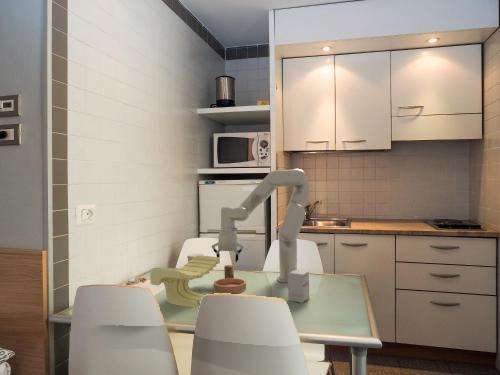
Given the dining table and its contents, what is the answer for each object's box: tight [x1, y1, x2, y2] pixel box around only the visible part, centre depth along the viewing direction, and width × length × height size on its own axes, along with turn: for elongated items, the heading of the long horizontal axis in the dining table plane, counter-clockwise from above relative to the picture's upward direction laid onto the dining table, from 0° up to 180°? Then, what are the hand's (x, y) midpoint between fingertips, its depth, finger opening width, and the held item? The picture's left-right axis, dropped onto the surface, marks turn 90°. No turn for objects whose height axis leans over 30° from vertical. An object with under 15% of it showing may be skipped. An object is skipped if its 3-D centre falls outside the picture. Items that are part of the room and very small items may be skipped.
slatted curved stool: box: [149, 255, 221, 308], centre depth 184 cm, size 30×16×18 cm, turn 150°
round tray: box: [213, 277, 247, 294], centre depth 201 cm, size 16×16×4 cm
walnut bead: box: [223, 264, 235, 279], centre depth 217 cm, size 5×5×8 cm
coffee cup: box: [187, 253, 204, 278], centre depth 229 cm, size 9×9×12 cm
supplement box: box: [287, 269, 310, 303], centre depth 182 cm, size 7×7×13 cm
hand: (227, 261), depth 217 cm, fingers open, 9 cm apart
